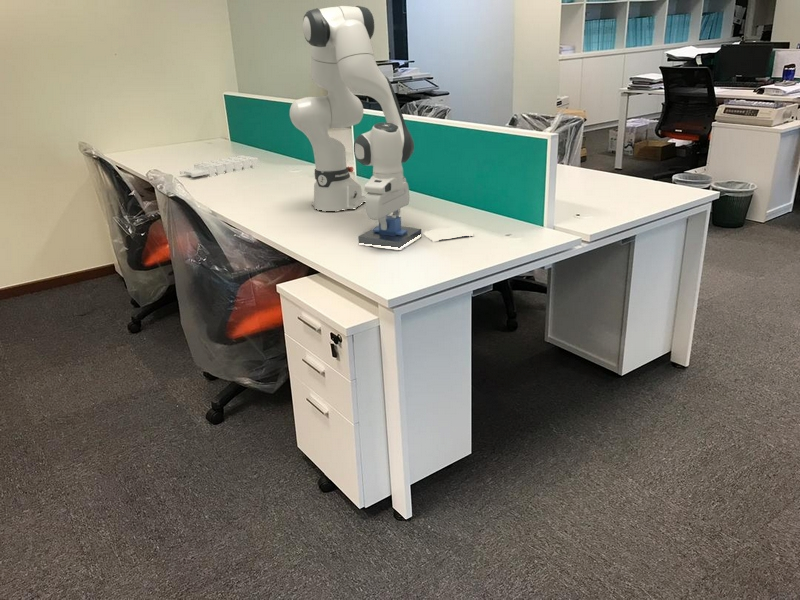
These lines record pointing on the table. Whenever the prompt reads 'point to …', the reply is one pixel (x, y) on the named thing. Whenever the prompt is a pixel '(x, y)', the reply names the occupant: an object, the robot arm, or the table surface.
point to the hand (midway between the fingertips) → (389, 226)
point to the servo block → (391, 227)
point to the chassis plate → (389, 237)
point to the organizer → (222, 166)
